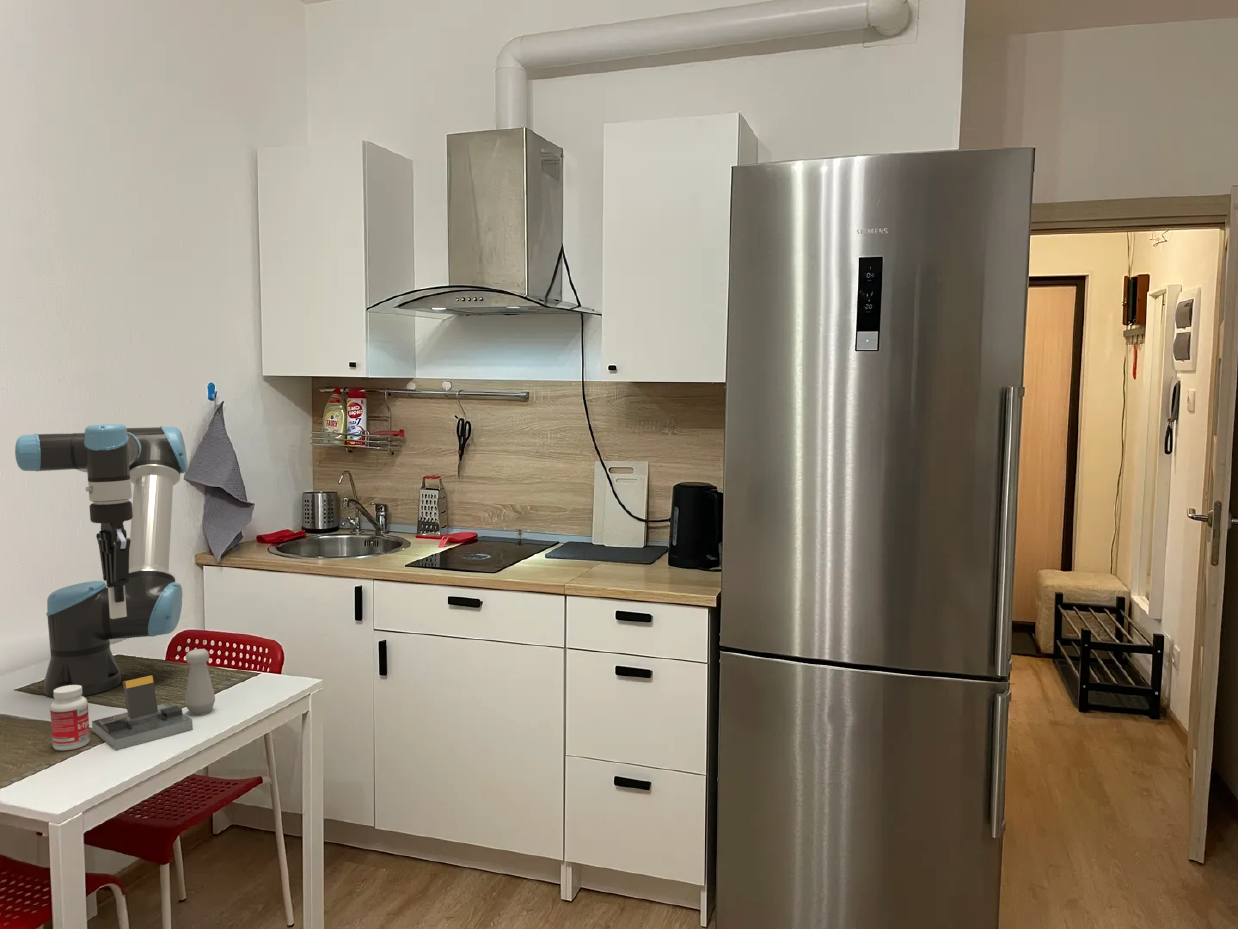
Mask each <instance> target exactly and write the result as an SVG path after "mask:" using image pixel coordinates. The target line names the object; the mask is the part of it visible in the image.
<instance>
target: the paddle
mask: <svg viewBox="0 0 1238 929" xmlns="http://www.w3.org/2000/svg"><path fill="white" fill-rule="evenodd" d="M153 677H154V676H153V675H147V676H141V677H138V678H134V679H130V680H124V681H122V687H123V691H124V692H123V693H124V699H125V705H126V713H128V718H126V722H127V724H129V723H133V722H137V721H141V720H145V719H149V718H153V717H157V716H160V715H161V712H160V710H158V708H157V705H158V703H157V695H156V691H155V690H156V689H155V685H154V678H153Z"/></svg>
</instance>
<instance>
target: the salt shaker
mask: <svg viewBox="0 0 1238 929" xmlns="http://www.w3.org/2000/svg"><path fill="white" fill-rule="evenodd" d="M209 653H210V652H209V651H208V650H207V649H206V648H205V649H204V648H196V649H191V650H190V651H188V652H187V653H186V654H185V661H186V663H187V664H189V669H188V677H187V678H188V679H187V683H186V684H187V685H186V688H185V689H186V690H185V698H184V706H185V707H186V709H187V710H188V712H189V714H190V716H191V715H192V716H201V715H206V714H209V713H210V712H211V711H212V710H213V707H214V704H215V701H216V695H215V691H214V687H213V684H212V680H211V676H210V672H209V668H208V664H207V662H208V660H209V659H210V654H209Z"/></svg>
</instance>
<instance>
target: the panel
mask: <svg viewBox="0 0 1238 929" xmlns="http://www.w3.org/2000/svg"><path fill="white" fill-rule="evenodd" d="M157 708H158V710H160V712H161V715H160V716H157V717H153V718H149V719H145V720H141V721H137V722H133V723H129V724H127V722H126V718H128V713H127V712H123V713H120V714H119V713H118V714H114V715H111V716H107V717H103V718H100V719H94V720H91V729H92V732H93V733H95V735H97V736H98V737H99V738H100V739H102V740H103V741H104V742H106V743H107V744H108V745H109V746H111V747H112V748H113V749H114V750H116V751H118V750H122V749H125V748H129V747H133V746H136V745H139V744H144V743H147V742H152V741H156V740H159V739H162V738H166V737H170V736H174V735H177V734H181V733H185V732H188V731H193V730H194V725H193V719H192V718H190V717H189V716H188V715H186V714H184V713H183V709H182V708H181V707H179V706H178V705H174V706H172V705H170V704H168V703H167V702H165V703H160V704H157Z"/></svg>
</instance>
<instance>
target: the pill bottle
mask: <svg viewBox="0 0 1238 929" xmlns="http://www.w3.org/2000/svg"><path fill="white" fill-rule="evenodd" d="M53 692H54V697H53V699H54V701H53V702H51V704H50V707H49V708H50V709H49V711H50V724H51V725H50V727H51V738H52V740H51V741H52V747H53V749H54V750H55V751H72V750H77V749H80V748H82V747H84V746H87V745H88V744H89V742H90V740H91V736H90V733H91V732H90V731H91V730H90V720H89V719H90V718H89V706H88V699H87V698H86V697H85V696H81V695H82V686H80V685H68V686H62V687H59V688H56V689H55V690H54V691H53Z"/></svg>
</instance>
